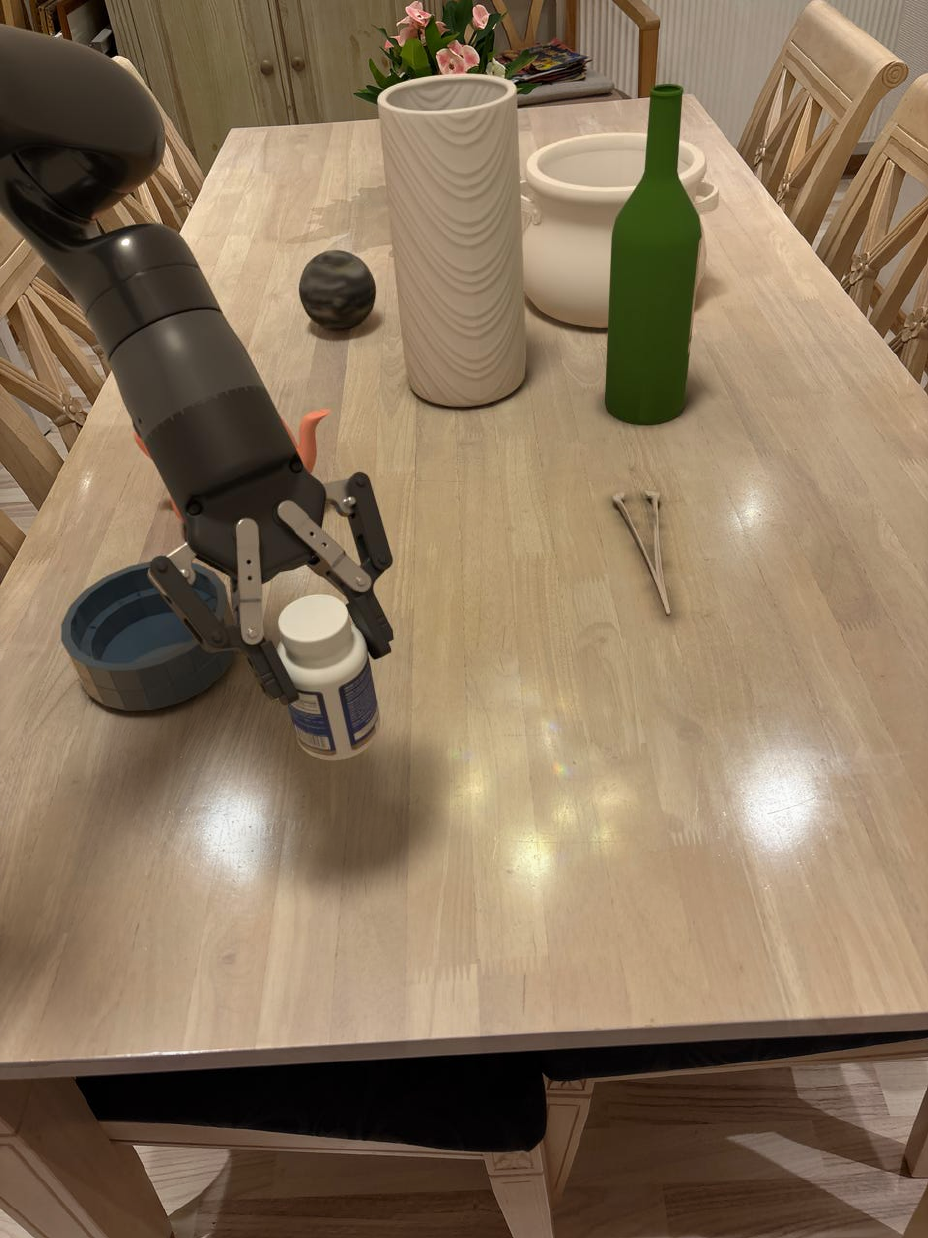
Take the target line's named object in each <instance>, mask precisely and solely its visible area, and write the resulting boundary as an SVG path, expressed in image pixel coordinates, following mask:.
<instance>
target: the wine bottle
mask: <svg viewBox="0 0 928 1238" xmlns="http://www.w3.org/2000/svg"><path fill="white" fill-rule="evenodd" d="M684 92H685V91H684V87H683V86H681V85H679V84H675V83H663V84H657V85H653V86H652V87H651V88H650V89H649V107H648V118H647V131H646V134H647V143H646V156H645V170H644V174H643V176H642V178H641V180H640V182H639V183H638V185H637V186H636V188H635V189H634V191H633V192H632V194H631V196H630V197H629V199H628V200H627V202H626V203H625V205H624V206H623V208H622V209H621V211H620V212H619V214H618V215H617V217H616V219H615V223H614V227H613V231H612V238H611V263H610V288H609V313H608V328H607V340H606V341H607V342H606V346H607V347H606V363H605V364H606V365H605V366H606V368H605V392H604V403H605V407H606V409H607V412H608V413H609V414H610V415H611V416H613V417H614V418H616V419H617V420H619V421H622V422H624V423H625V422H626V423H628V424H635V425H647V426H648V425H657V424H662V423H665V422H669V421H671V420H673V419H675V418H676V417H678V415H679V414H681V412H682V410H683V408H684V406H685V403H686V402H685V401H686V395H687V394H686V393H687V386H688V385H687V383H688V375H689V366H690V365H689V364H690V355H691V347H692V337H693V328H694V317H695V309H696V308H695V307H696V298H697V290H698V288H697V280H698V270H699V260H700V251H701V241H702V232H701V226H700V220H701V217H700V215H698V213H697V211H696V209H695V208H694V206H693V204H692V202H691V200H690V198H689V196H688V194H687V192H686V190H685V188H684V187H683V185H682V183H681V181H680V179H679V175H678V172H677V170H678V155H679V140H681V139H680V138H681V123H682V122H681V121H682V107H683V93H684ZM696 289H697V290H696Z"/></svg>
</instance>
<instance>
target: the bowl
mask: <svg viewBox="0 0 928 1238" xmlns="http://www.w3.org/2000/svg"><path fill="white" fill-rule="evenodd" d="M151 561H152V560H151ZM151 561H146V562H142V563H138V564H137V563H136V564H133V565H129V566H126V567H124V568H121V569H119V570H117V571H115V572H112V573H110V574H108V575H105V576H104V577H102V578H101V579H99V580H97V581H96V582H94V583H93V584H91V585H90V586H89V587H87V588H85V590H83V591H82V592H81V593H80V594H79V595H78V596H77V598H76V599H75V600H74V601H73V602H72V603H71V604H70V605H69V607H68V609H67V611H66V614H65V615H64V617H63V619H62V621H61V624H60V641H61V643H62V646H63V648H64V650H65V652H66V655H67V656H68V658H69V661H70V662H71V665H72V666H73V669H74V671H75V673H76V675H77V677H78V679H79V681H80V683H81V685H82V686H83V689H84V690H85V691H86V694H87V695H88V696H90V697H91V698H93V699H95V700H96V701H97V702H99V703H101V704H102V705H103V706H105V707H109V708H113V709H117V710H122V711H128V712H130V711H133V712H134V711H154V710H158V709H162V708H166V707H169V706H173V705H178V704H181V703H183V702H185V701H187V700H188V699H191V698H193V697H195V696H197V695H200V694H201V693H203V692H204V691H206V690H207V689H209V688H210V686H212V685H213V684H214V683H216V682H217V681H218V680H219V679H220V678H222V677H223V676H224V674H225V673H226V672H227V670H228V669H229V668H230V667H231V665H232V663H233V662H234V661H235V660H236V657H237V654H238V651H236V650H228V651H218V652H215V653H209V652H206V651H205V650H204V649H203V648H202V647H201V645H200V644H199V643H198V642H197V640H196V639H195V638H194V636H193V635H192V634H191V633H190V631H189V630H188V629H187V628H186V626H185V625H184V624H183V623H182V621H181V620H180V619H179V618H178V616H177V615H176V614H175V612H174V611H173V610H172V609H171V607H170V606H169V605H168V604H167V602H166V601H165V600H164V599H163V597H162V596H161V595H160V594H159V592H158V591H157V590H156V588H155V587H154V586H153V585H152V583H151V582H150V581H149V579H148V576H147V574H148V570H149V567H150V563H151ZM192 567H193V569H194V571H195V573H196V579H195V581H194V583H193V584H192V588H193V589H194V590H195V591H196V593H197V594H198V595H199V597H200V598H201V599H202V600H203V602H204V603H205V604H206V605H207V607H208V608H209V609H210V611H211V612H212V613H213V614H214V616H215V617H216V618H217V619H218V621H219V622H220V623H221V625H222V626H223V627H224V626H234V615H233V609H232V604H231V598H230V596H229V593H228V589H227V587H226V584H225V583H224V582H223V580H222V579H221V578H220V577H219V575H217V573H216V572H215V571H213V570H211V569H209V568H208V567H205V566H203V565H201V564H200V563H196V562H192Z"/></svg>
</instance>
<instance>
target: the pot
mask: <svg viewBox="0 0 928 1238" xmlns="http://www.w3.org/2000/svg"><path fill="white" fill-rule="evenodd" d="M646 143H647V132H646V133H645V132H623V131H622V132H603V133H592V134H586V135H579V136H574V137H570V138H565V139H561V140H558V141H555V142H552V143H549V144H547V145H545V146H543V147H541V148H539V149H537V150H536V151H534V152H533V153H532V154H531V155H530V156H529V157H528V159H527V161H526V163H525V166H524V178H525V180H520V188H521V212H524V213H527V214H529V216H528V219H527V221H526V224H525V226H524V229H523V230H522V246H523V275H524V293H525V295H526V296H527V297H528V298H529V300H530V301H531V302H532V303H533V305H534V306H535V307H536V308H537V309H538V310H539V311H541V312H542V313H544V314H545V315H546V316H549V317H551V318H553V319H555V320H557V321H560V322H563V323H567V324H571V325H575V326H581V327H586V328H587V327H588V328H598V329H608V313H609V288H610V263H611V238H612V231H613V227H614V223H615V219H616V217H617V215H618V214H619V212H620V211H621V209H622V208H623V206H624V205H625V203H626V202H627V200H628V199H629V197H630V196H631V194H632V192H633V191H634V189H635V188H636V186H637V185H638V183H639V182H640V180H641V178H642V176H643V174H644V170H645V156H646ZM707 171H708V163H707V158H706V155H705V154H704V153H703V152H702V150H701V149H700V148H698V146H696V145H694V144H692V143H690V142H689V141H688V142H687V141H685V140H683V139H680V140H679V155H678V170H677V172H678V175H679V179H680V181H681V183H682V185H683V187H684V188H685V190H686V192H687V194H688V196H689V198H690V200H691V202H692V204H693V206H694V208H695V209H696V211H697V213H698V215H699V216H702V215H705V214H709V213H712V212H714V211H716V210H717V209H718V207H719V202H720V188H719V185H718V184H717V183H714V182H709V181H708V182H707V181H703V180H704V178H705V176H706V173H707ZM530 195H532V199H530V198H528V197H527V196H530ZM697 197H701V198H702V199H698V200H697ZM700 226H701V232H702V241H701V251H700V260H699V270H698V280H697V289H696V291H697V290H698V288H699V285H700V284H701V282H702V279H703V276H704V273H705V268H706V263H707V262H706V261H707V255H708V254H707V243H706V234H705V230H704V226H703V223H702V221H701V219H700Z"/></svg>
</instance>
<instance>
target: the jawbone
mask: <svg viewBox="0 0 928 1238" xmlns="http://www.w3.org/2000/svg"><path fill="white" fill-rule="evenodd" d="M643 492H644V495H645V498H646V499H648V500H650V501H651V504H652V522H653V547H654V565H655V567H654V566H653V564H652V562H651V560H650V557H649V556H648V553H647V551H646V548H645V546H644V544H643V542H642V539H641V538H640V535H639V533H638V531H637V529H636V528H635V526H634V524H633V521H632V519H631V516H630V514H629V512H628V510H627V508H626V505H624V503H623V501H622V500H623V499H624V497H625V495H626V491H621V492H619V493H615V494H614V495H612V496H611V498H612V500H613V502H614V503H615V504H616V506H617V507H618V508H619V510H620V512H621V513H622V515H623V518H624V519H625V521H626V522H627V524H628V525H629V527H630V529H631V531H632V533H633V535H634V537H635V540H636V541H637V543H638V546H639V547H640V550H641V552H642V554H643V556H644V559H645V560H646V562H647V566H648V567H649V570H650V572H651V575H652V577H653V580H654V583H655V585H656V587H657V591H658V594H659V595H660V598H661V601H662V604H663V606H664V610H665V613H666V614H667V615H670V614H671V608H670V605H669V599H668V594H667V589H666V584H665V577H664V571H663V563H662V554H661V553H662V552H661V544H660V523H659V509H658V508H659V507H658V503H659V500H660V498H661V492H660V491H654V490H647V489H646V490H643ZM654 568H655V569H654Z"/></svg>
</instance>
